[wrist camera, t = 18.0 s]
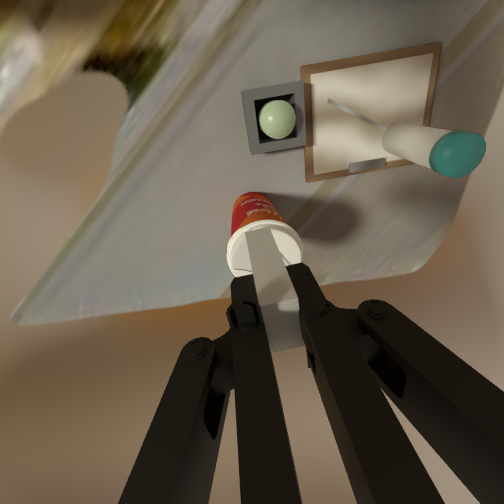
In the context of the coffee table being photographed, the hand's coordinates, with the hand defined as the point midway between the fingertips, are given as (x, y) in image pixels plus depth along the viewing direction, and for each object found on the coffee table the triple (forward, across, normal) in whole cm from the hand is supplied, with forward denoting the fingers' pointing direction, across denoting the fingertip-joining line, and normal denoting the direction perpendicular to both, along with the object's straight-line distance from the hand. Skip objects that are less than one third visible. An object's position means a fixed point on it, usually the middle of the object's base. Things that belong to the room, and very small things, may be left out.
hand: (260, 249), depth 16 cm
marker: (+23, +22, -1) cm, 32 cm away
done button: (+23, +6, +5) cm, 24 cm away
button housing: (+24, +6, +5) cm, 25 cm away
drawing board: (+24, +18, +2) cm, 30 cm away
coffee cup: (+24, +1, -7) cm, 25 cm away
